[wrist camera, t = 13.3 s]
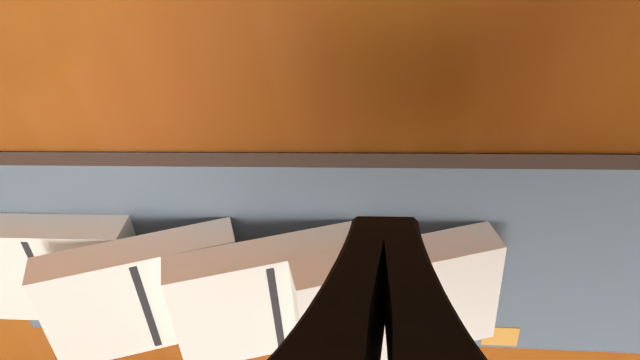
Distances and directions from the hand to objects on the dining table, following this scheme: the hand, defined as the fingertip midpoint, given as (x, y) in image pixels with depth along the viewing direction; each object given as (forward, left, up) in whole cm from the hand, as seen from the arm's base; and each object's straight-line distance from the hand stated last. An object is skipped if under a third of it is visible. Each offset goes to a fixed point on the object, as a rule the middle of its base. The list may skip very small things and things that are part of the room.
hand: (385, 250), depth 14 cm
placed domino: (-4, +9, -8) cm, 13 cm away
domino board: (+3, +9, -10) cm, 14 cm away
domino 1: (+6, +9, -8) cm, 14 cm away
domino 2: (+1, +9, -8) cm, 12 cm away
